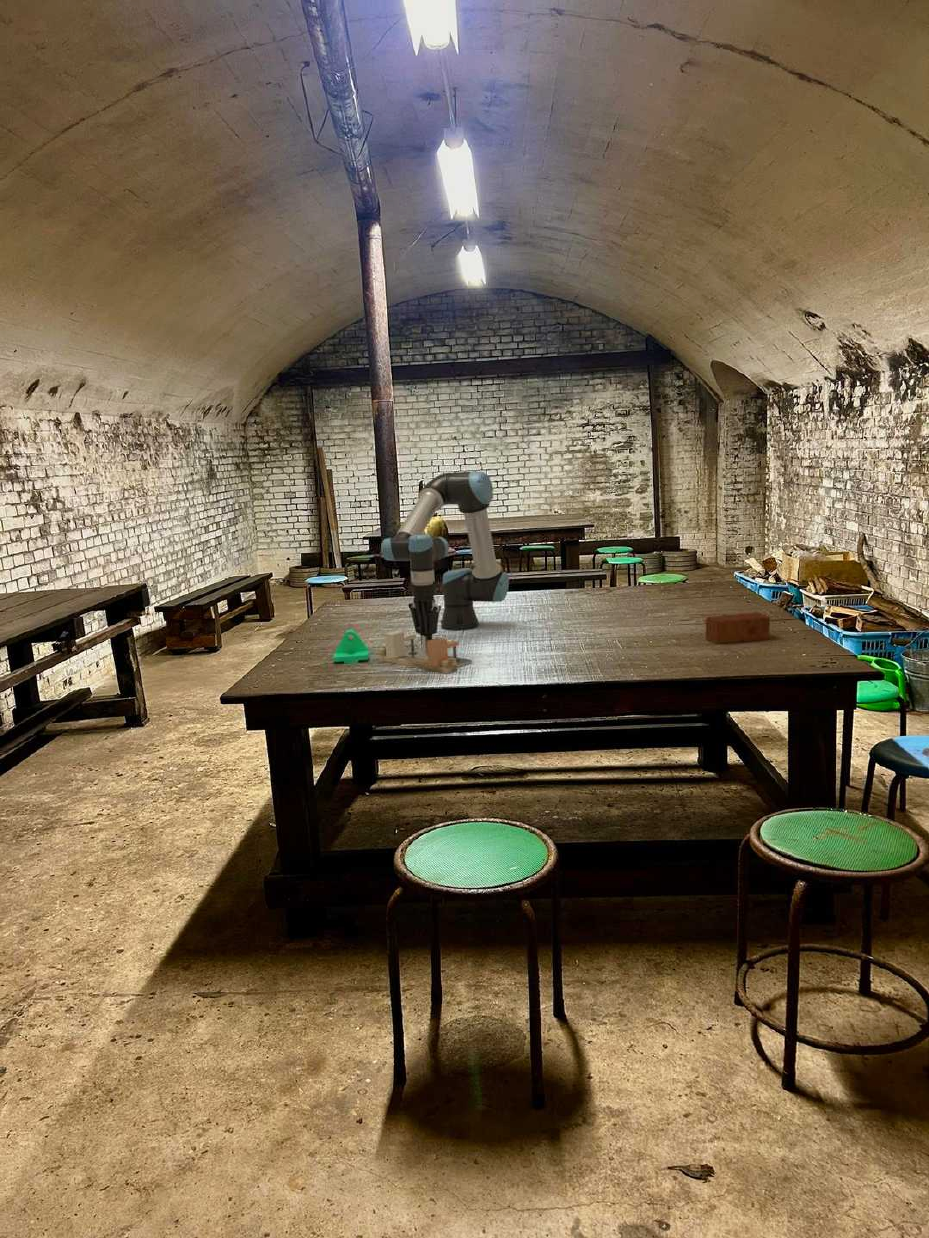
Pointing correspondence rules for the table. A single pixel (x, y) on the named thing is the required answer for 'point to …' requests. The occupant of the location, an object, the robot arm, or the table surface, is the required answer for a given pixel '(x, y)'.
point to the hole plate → (419, 655)
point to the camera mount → (351, 649)
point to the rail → (420, 663)
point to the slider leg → (439, 651)
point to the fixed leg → (397, 643)
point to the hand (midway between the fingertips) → (427, 654)
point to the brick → (737, 628)
